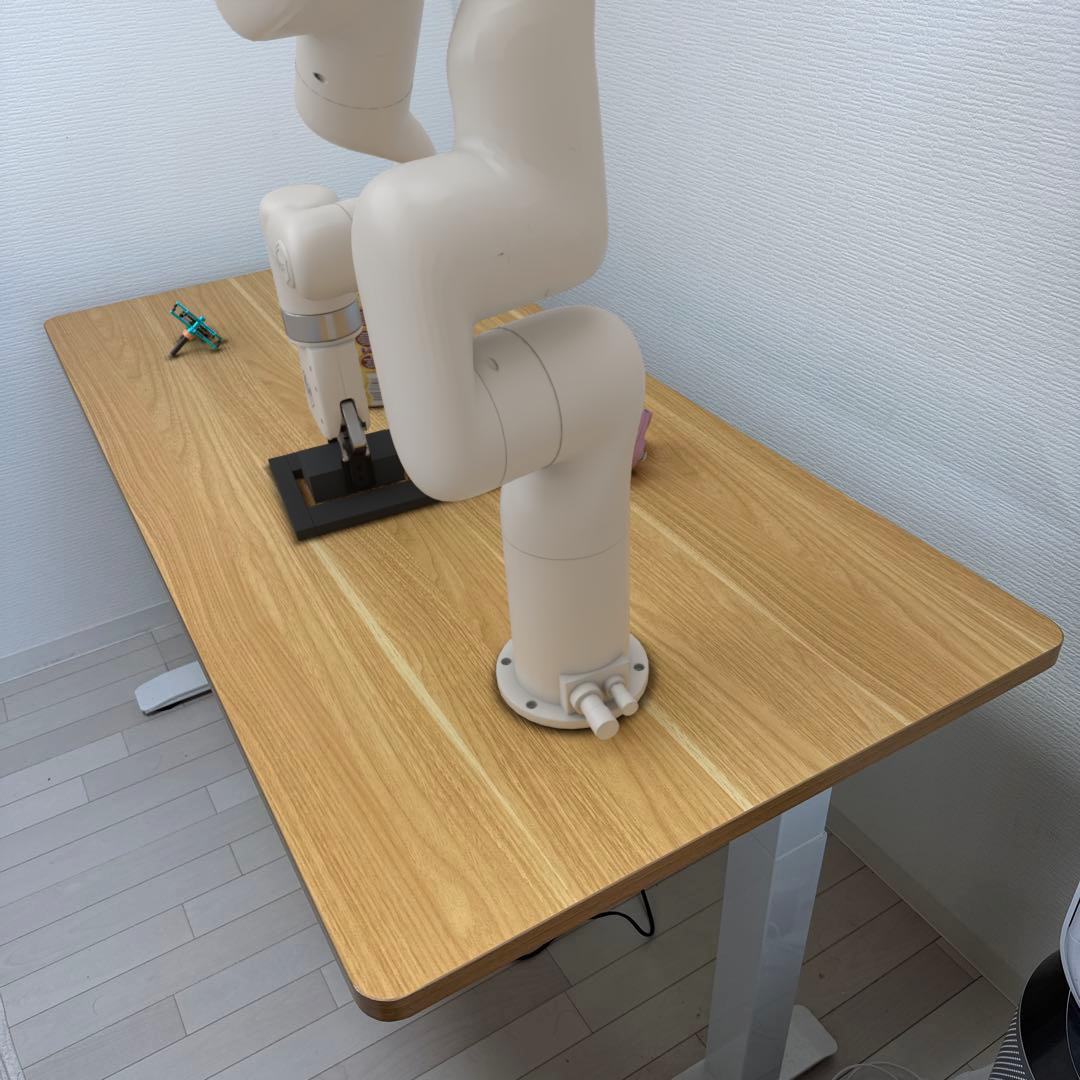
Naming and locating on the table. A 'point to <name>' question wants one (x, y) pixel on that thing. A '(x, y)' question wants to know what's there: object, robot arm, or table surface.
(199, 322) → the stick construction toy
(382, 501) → the black rectangular frame
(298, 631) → the table surface
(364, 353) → the candy box
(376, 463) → the loose black block
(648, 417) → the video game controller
